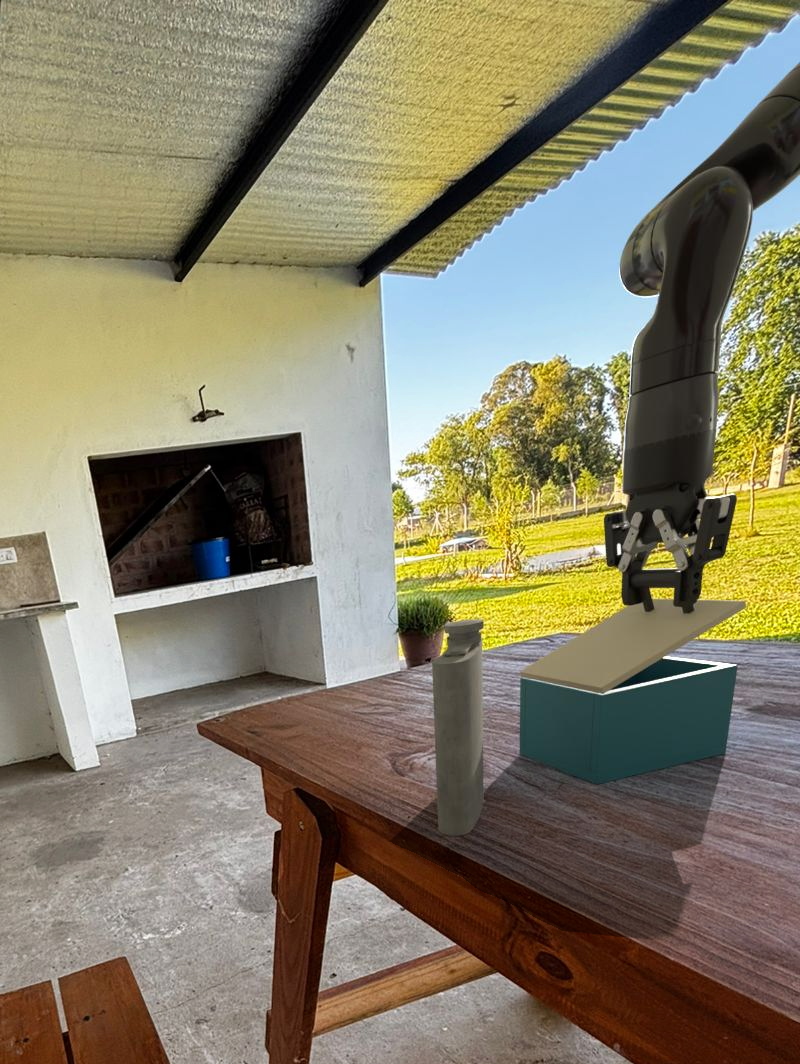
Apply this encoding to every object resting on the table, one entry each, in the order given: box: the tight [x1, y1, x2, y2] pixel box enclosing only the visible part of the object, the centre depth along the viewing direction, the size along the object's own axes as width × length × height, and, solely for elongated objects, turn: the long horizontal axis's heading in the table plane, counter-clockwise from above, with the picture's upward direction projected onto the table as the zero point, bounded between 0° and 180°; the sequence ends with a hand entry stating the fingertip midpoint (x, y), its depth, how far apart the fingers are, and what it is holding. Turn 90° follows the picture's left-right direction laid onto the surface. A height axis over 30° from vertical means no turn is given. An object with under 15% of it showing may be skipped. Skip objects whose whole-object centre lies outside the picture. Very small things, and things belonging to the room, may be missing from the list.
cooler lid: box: [519, 567, 747, 694], centre depth 68 cm, size 17×13×6 cm
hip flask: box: [431, 618, 485, 837], centre depth 64 cm, size 16×4×20 cm, turn 154°
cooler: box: [519, 655, 739, 785], centre depth 72 cm, size 16×13×10 cm
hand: (657, 604), depth 68 cm, fingers closed on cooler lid, 6 cm apart
